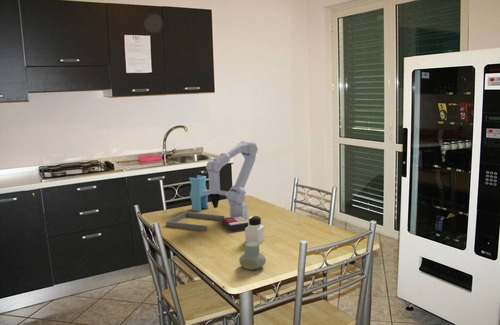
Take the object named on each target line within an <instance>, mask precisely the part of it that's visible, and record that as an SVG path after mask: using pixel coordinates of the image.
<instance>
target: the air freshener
mask: <svg viewBox="0 0 500 325" xmlns="http://www.w3.org/2000/svg"><path fill="white" fill-rule="evenodd" d="M266 259H267V258H266V256H265V255H264V254H263V253H262V252H260V243H259V244H258V243H257V242H248V243H247V242H245V244H244V253H243V254H241V255H240V256H239V260H238V261H239V262H238V263H239V265H240V266H241V267H243V269H246V270H249V271H254V270H257V269H261V268H262V267H264V265H265V264H266V262H267V260H266Z"/></svg>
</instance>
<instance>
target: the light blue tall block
mask: <svg viewBox="0 0 500 325" xmlns="http://www.w3.org/2000/svg"><path fill="white" fill-rule="evenodd" d="M188 179H189V182H190V186H191V187H190V193H189V197H190V200H191V211H195V212H199V213H200V212H202V209H206V210H207V209H210V208H209V204H208V198H209V194H202V190H208V189H207V186H206V184H207V183H206V181H207V176H205V175H196V178H195V177H189V178H188Z"/></svg>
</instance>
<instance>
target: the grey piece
mask: <svg viewBox="0 0 500 325" xmlns="http://www.w3.org/2000/svg"><path fill="white" fill-rule="evenodd" d="M184 218H185V219H186V218H198V219H204V220H205V219H206V220H216V221H222V219H223V218H225V215H220V214H209V213H200V212H191V211H184V212H183V213H181V214H179V215H176V216H175V217H173V218H171V219H169V220H166V222H165V223H166V224H165V226H166V227H172V228H178V229H179V228H180V229H188V230H195V231H201V232H202V231H203V232H207V231H208V225H204V224H203V225H202V224H194V223H186V222H179V221H182V220H183V219H184Z"/></svg>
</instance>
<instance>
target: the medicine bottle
mask: <svg viewBox="0 0 500 325" xmlns="http://www.w3.org/2000/svg"><path fill="white" fill-rule="evenodd" d="M261 220H262V219H261V216H257V215H252V216H249V217H248V218H247V221H248V227H246V228H245V230H244V237H245V240H244V242H245V243H248V242H257V243H258V244H259V245H260V243H262V242H264V241H265V225H262V221H261Z"/></svg>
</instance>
